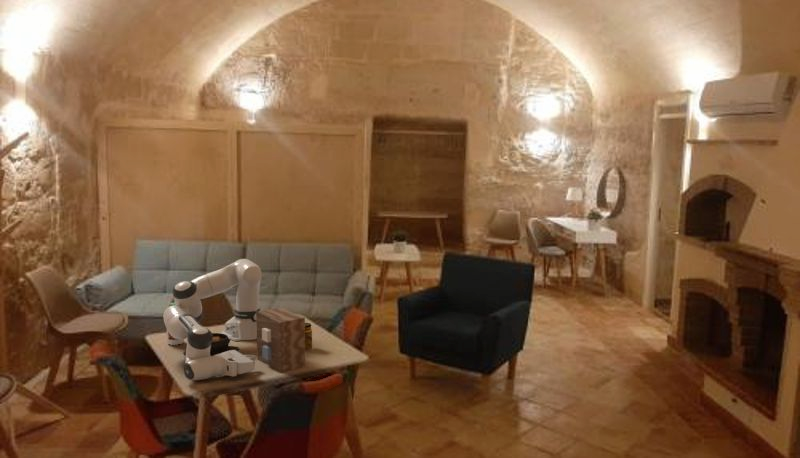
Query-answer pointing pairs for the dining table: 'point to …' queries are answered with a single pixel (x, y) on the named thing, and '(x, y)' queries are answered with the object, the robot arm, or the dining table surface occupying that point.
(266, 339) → the white cube
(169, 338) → the milk bottle
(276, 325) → the block
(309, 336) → the condiment
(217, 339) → the casserole
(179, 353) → the dining table surface
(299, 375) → the dining table surface
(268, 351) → the blue cube
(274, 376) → the dining table surface
